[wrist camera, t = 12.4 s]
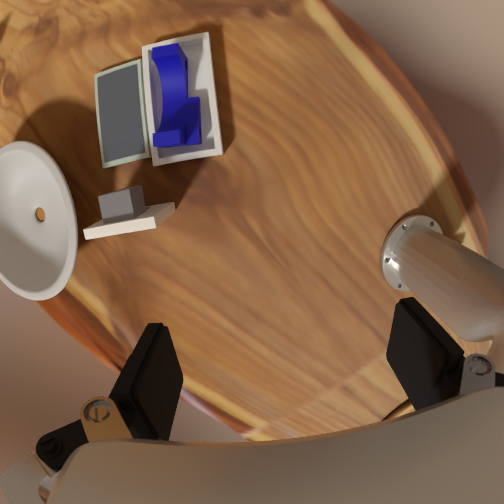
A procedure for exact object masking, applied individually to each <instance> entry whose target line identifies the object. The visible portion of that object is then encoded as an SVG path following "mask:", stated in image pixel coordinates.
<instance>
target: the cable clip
mask: <svg viewBox="0 0 504 504" xmlns="http://www.w3.org/2000/svg"><path fill="white" fill-rule="evenodd" d="M152 60H153V61H154V63H155V64H156V67H157V69H158V73H159V77H160V81H161V88H162V118H161V123H160V127H159V129H158V131H157V132H156V133H152V134H153V147H164V148H169V147H178V146H187V145H197V144H202V132H201V108H200V98H199V97H190V98H188V58H187V57H186V55H185V53H184V52H183V50H182V48H181V47H180V45H179V43H174V44H168V45H163V46H158V47H153V48H152Z"/></svg>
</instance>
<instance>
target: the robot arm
mask: <svg viewBox="0 0 504 504" xmlns="http://www.w3.org/2000/svg"><path fill="white" fill-rule="evenodd" d="M380 261H381V269H382V273H383V275H384V277H385V279H386V280H387V282H388V283H389V284H390V285H391V286H392V287H393V288H395V289H397V290H400V291H412V292H413V293H414V294H415V295H416V296H417V297H418V298H419V299H421V300H422V301H423V302H424V303H425V304H426V305H427V306H428V307H429V308H430V309H431V310H432V311H433V312H434V313H435V314H436V315H437V316H438V317H439V318H440V319H441V320H442V321H443V322H444V323H445V324H446V325H447V326H448V327H449V328H450V329H451V330H452V331H453V332H454V333H455V334H456V335H457V336H458V337H459V338H461V339H463V340H465V341H468V342H483V341H489V340H493V341H492V345H491V348H490V349H489V351H488V353H487V355H486V356H485V355H483V354H476V353H475V354H471V355H469V356H467V357H466V358H465V357H464V356H463V354H464V351H463V349H462V348H461V347H460V346H459V345H458V344H457V343H456V342H455V340H454V339H453V338H452V337H451V336H450V335H449V334H448V333H447V332H446V331H445V329H444V328H443V327H442V326H441V325H440V324H439V323H438V322H437V321H436V320H435V319H434V318H433V317H432V316H431V315H430V314H429V313H428V311H427V310H426V309H425V308H424V307H423V306H422V305H421V304H420V303H419V302H418V301H417V300H416V299H415V298H414V297H409V298H403V299H400V301H399V303H397V304H396V306H395V312H394V318H393V323H392V328H391V333H390V338H389V343H388V348H387V352H386V357H387V360H388V362H389V364H390V366H391V368H392V369H393V371H394V373H395V375H396V376H397V378H398V380H399V382H400V383H401V385H402V387H403V389H404V391H405V392H406V394H407V396H408V398H409V400H410V402H411V404H412V405H413V407H414V409H415V411H414V412H411V413H408V414H405V415H401V416H398V417H395V418H391V419H388V420H384V421H381V422H377V423H373V424H369V425H365V426H361V427H356V428H352V429H347V430H342V431H337V432H332V433H326V434H320V435H314V436H307V437H300V438H291V439H282V440H271V441H257V442H234V443H233V442H232V443H208V442H207V443H206V442H179V441H169V437H170V432H171V428H172V424H173V420H174V416H175V412H176V408H177V404H178V400H179V396H180V392H181V388H182V384H183V374H182V371H181V368H180V365H179V362H178V359H177V355H176V352H175V349H174V346H173V342H172V339H171V336H170V332H169V329H168V327H167V326H164V325H163V323H148V325H147V326H146V328H145V330H144V332H143V334H142V335H141V337H140V339H139V341H138V343H137V345H136V347H135V349H134V350H133V352H132V354H131V355H130V356H129V358H128V360H127V362H126V364H125V365H124V367H123V369H122V371H121V373H120V375H119V377H118V379H117V381H116V383H115V385H114V387H113V389H112V391H111V393H110V395H109V397H104V396H100V397H95V398H92V399H90V400H88V401H87V402H86V403H84V404H83V406H82V408H81V410H80V418H81V419H80V420H77V421H75V422H73V423H71V424H68V425H67V426H64V427H62V428H59V429H57V430H55V431H52V432H50V433H48V434H46V435H44V436H42V437H41V438H40V439H39V441H38V443H37V445H36V453H35V454H33V453H32V452H30V453H29V454H28V455H26V456H25V457H24V458H22V459H21V460H20V461H19V462H17V463H16V464H15V465H13V466H12V467H11V468H9V469H8V470H7V471H5V472H4V473H3V475H2V476H1V479H0V485H1V488H2V490H3V492H4V494H5V496H6V497H7V499H8V501H9V503H10V504H504V269H503V268H501V267H500V266H498V265H497V264H495V263H493V262H492V261H490V260H488V259H487V258H485V257H483V256H481V255H480V254H478V253H476V252H474V251H472V250H471V249H469V248H467V247H465V246H463V245H462V244H461V243H460V242H459V241H454V240H452V239H450V238H448V237H446V236H444V235H443V232H442V229H441V227H440V226H439V224H438V223H437V222H436V221H435V220H434V219H432V218H430V217H428V216H426V215H421V214H415V215H411V216H408V217H406V218H404V219H402V220H401V221H399V222H398V223H397V224H396V225H395V226H394V227H393V228H392V230H391V231H390V232H389V234H388V236H387V237H386V239H385V242H384V244H383V247H382V251H381V259H380Z"/></svg>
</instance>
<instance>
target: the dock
mask: <svg viewBox="0 0 504 504" xmlns="http://www.w3.org/2000/svg"><path fill="white" fill-rule="evenodd" d="M174 43H179V45H180V47H181V48H182V50H183V52H184V53H185V55H186V57H187V58H188V98H190V97H199V98H200V108H201V132H202V144H197V145H187V146H178V147H169V148H164V147H153V134H152V133H156V132H157V131H158V129H159V127H160V123H161V118H162V88H161V81H160V77H159V73H158V69H157V67H156V64H155V63H154V61H153V60H152V48H153V47H158V46H163V45H168V44H174ZM142 61H143V78H144V91H145V103H146V113H147V122H148V131H149V139H150V147H151V154H152V161H153V166H159V165H164V164H169V163H174V162H179V161H185V160H191V159H197V158H203V157H209V156H216V155H223V154H224V151H223V143H222V135H221V127H220V119H219V111H218V103H217V94H216V86H215V77H214V69H213V60H212V51H211V42H210V36H209V33H208V32H204V33H198V34H193V35H188V36H183V37H178V38H174V39H169V40H165V41H161V42H157V43H154V44H150V45H146V46H143V47H142Z"/></svg>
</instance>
